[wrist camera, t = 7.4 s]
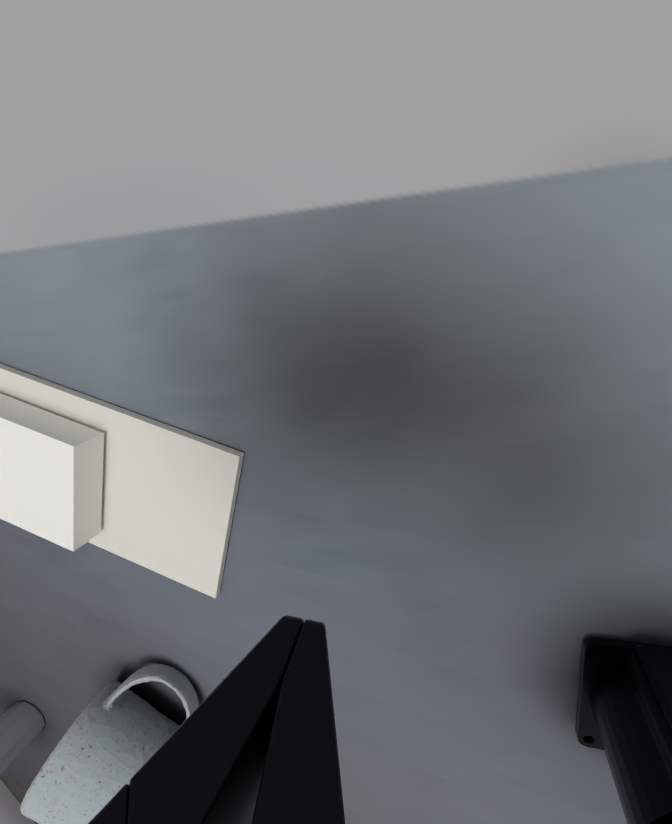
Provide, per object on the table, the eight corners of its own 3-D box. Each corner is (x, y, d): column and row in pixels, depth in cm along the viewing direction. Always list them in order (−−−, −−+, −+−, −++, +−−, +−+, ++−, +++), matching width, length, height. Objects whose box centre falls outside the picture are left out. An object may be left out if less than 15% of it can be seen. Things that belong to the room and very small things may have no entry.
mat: (244, 452, 22) (239, 456, 21) (219, 592, 25) (215, 598, 25) (-45, 346, 25) (-54, 348, 25) (-31, 482, 29) (-39, 486, 29)
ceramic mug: (185, 772, 32) (110, 908, 25) (101, 713, 33) (6, 829, 26) (230, 696, 28) (156, 832, 21) (134, 632, 29) (32, 742, 22)
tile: (73, 446, 21) (-59, 393, 23) (73, 551, 24) (-46, 497, 25) (107, 431, 23) (-16, 384, 25) (104, 530, 26) (-8, 481, 28)
